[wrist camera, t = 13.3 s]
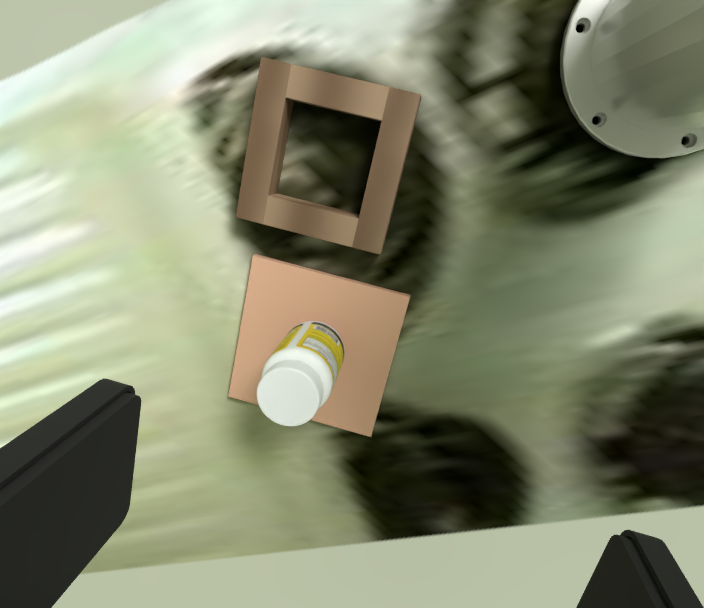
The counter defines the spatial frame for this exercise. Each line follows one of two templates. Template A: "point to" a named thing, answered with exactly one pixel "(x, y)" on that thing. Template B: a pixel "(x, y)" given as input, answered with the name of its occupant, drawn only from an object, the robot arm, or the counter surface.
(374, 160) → the walnut cup holder
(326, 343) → the supplement bottle
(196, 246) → the counter surface
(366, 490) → the counter surface
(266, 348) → the terracotta coaster
